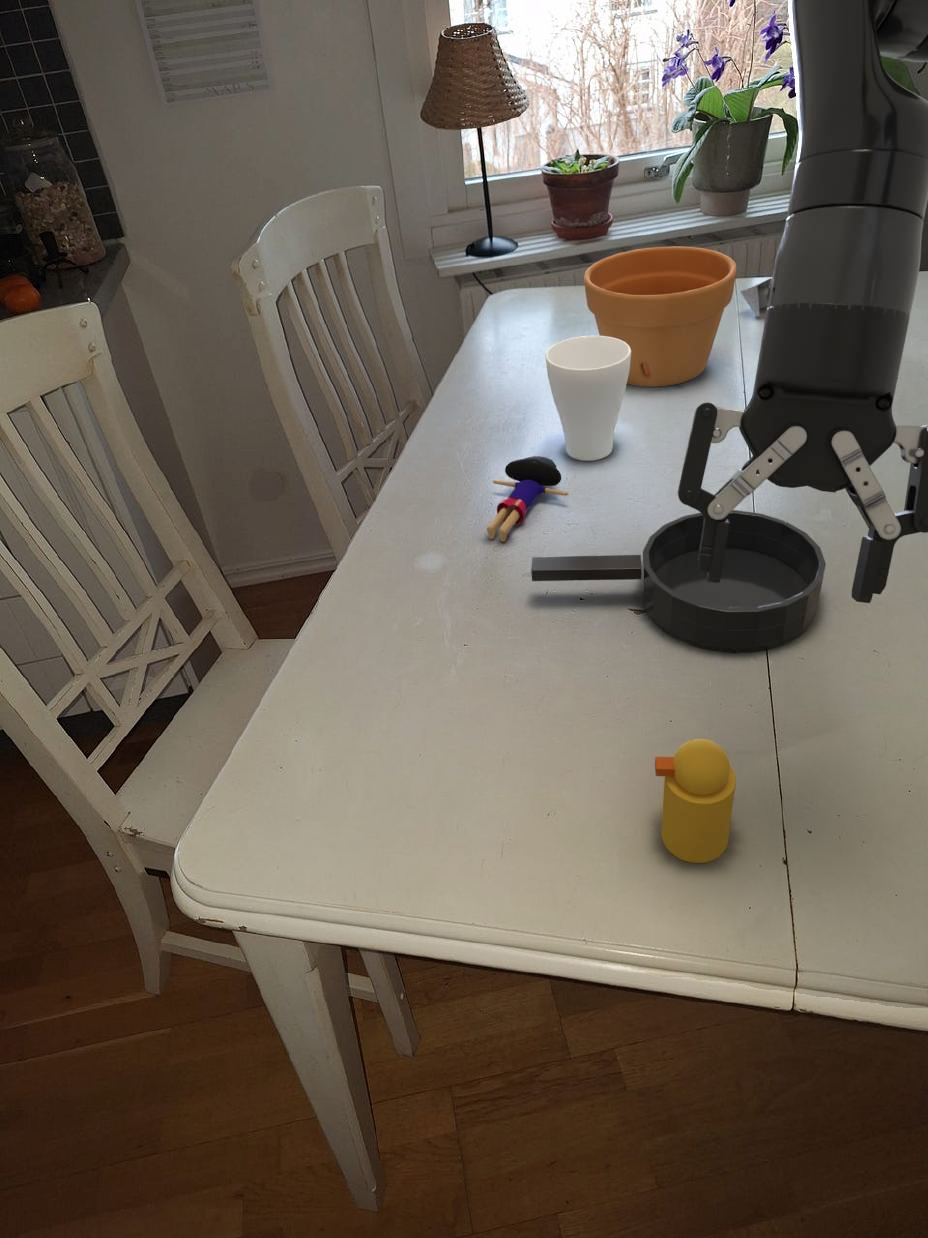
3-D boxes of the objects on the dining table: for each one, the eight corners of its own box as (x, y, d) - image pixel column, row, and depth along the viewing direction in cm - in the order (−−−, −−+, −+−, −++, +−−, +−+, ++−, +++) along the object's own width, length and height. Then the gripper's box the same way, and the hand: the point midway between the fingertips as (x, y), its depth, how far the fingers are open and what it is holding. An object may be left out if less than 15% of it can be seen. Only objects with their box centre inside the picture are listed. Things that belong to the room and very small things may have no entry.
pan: (800, 547, 96) (806, 507, 93) (833, 652, 83) (842, 610, 80) (638, 550, 98) (639, 512, 95) (646, 653, 85) (647, 612, 82)
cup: (536, 443, 120) (531, 347, 112) (606, 424, 122) (606, 328, 114) (571, 477, 112) (567, 377, 104) (644, 456, 114) (647, 356, 106)
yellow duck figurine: (723, 811, 70) (735, 722, 64) (731, 864, 66) (744, 775, 60) (650, 809, 71) (654, 722, 65) (653, 862, 67) (658, 774, 61)
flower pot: (571, 394, 131) (568, 293, 121) (601, 338, 146) (601, 245, 136) (719, 401, 124) (728, 295, 115) (734, 342, 139) (743, 244, 130)
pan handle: (640, 565, 91) (640, 554, 90) (641, 579, 89) (641, 568, 88) (533, 567, 92) (532, 556, 91) (531, 581, 91) (531, 570, 90)
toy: (536, 553, 101) (584, 483, 110) (534, 520, 98) (583, 451, 107) (458, 537, 105) (511, 471, 115) (453, 505, 102) (508, 440, 112)
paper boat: (777, 290, 151) (823, 287, 143) (766, 329, 152) (812, 327, 144) (731, 267, 144) (778, 262, 136) (721, 307, 145) (766, 304, 137)
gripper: (710, 288, 47) (665, 585, 51) (1000, 307, 45) (931, 619, 48) (704, 307, 54) (665, 566, 58) (953, 325, 52) (896, 596, 55)
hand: (785, 590), depth 53 cm, fingers open, 8 cm apart
